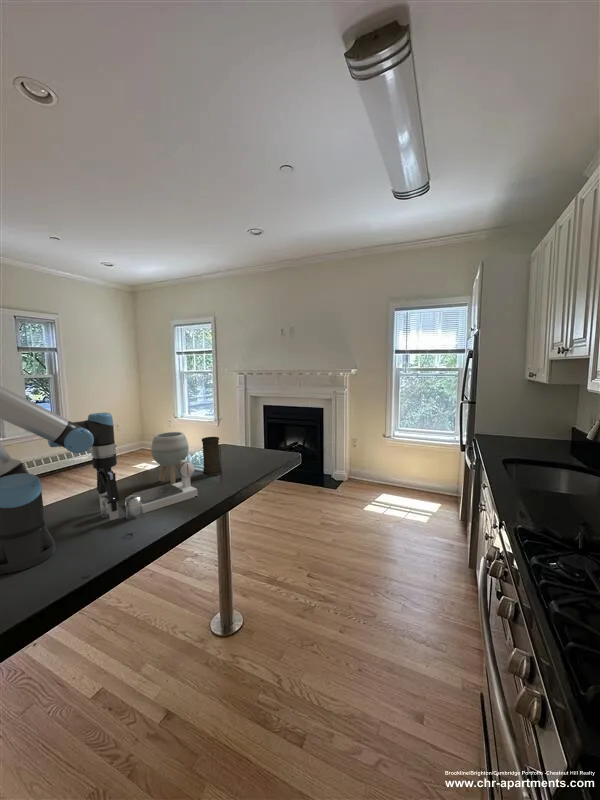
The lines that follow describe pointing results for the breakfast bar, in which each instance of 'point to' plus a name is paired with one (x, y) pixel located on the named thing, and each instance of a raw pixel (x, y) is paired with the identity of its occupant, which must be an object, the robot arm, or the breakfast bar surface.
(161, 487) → the pan
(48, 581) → the breakfast bar surface
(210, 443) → the container
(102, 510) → the spacer
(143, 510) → the scale
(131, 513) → the spacer
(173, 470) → the planter
